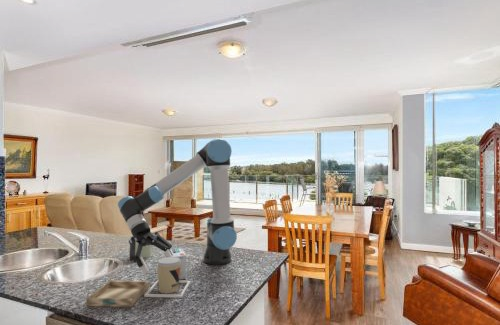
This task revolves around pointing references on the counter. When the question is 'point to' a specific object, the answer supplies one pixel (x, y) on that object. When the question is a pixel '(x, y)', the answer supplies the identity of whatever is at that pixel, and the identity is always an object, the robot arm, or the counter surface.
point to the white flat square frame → (167, 294)
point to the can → (144, 250)
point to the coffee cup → (168, 274)
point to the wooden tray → (118, 293)
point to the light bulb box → (182, 256)
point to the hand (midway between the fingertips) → (160, 268)
